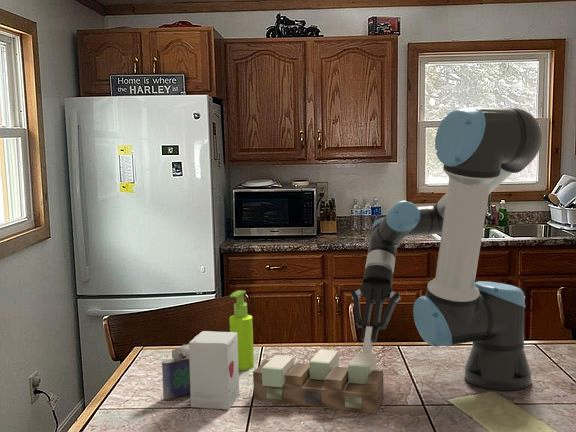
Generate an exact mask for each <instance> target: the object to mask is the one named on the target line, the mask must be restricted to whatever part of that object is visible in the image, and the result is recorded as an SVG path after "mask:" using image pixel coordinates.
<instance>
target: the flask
mask: <svg viewBox="0 0 576 432" xmlns="http://www.w3.org/2000/svg"><path fill="white" fill-rule="evenodd" d="M178 351H179V352H178V355H177V358H170V359H169V358H168V359H166V360H165V359H164V360H163V361H162V362H161V371H162V374H161V375H162V398H163V400H164V401H165V402H167V401H174V400H176V399H181V398H182V399H183V398H185V397H189V396H190V397H191V392H190V362H189V354H187V355H185V354H183V353H182V351H183V350H178ZM176 352H177V351H176Z"/></svg>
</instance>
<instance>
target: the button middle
mask: <svg viewBox="0 0 576 432" xmlns="http://www.w3.org/2000/svg"><path fill="white" fill-rule="evenodd" d="M339 355H340V353H339V350H334V349H333V350H331V349H321V348H320V349H319V350H318V351H317V352H316V354H314V356H313V357H312V358H311V359H310V361H308V362H309V363H308V364H309V370H310V379H316V380H324V379H325V378H326V376H327V375H328V374H329V372H330V371H331V370H332V368H333V367H340V364H339V363H340V362H339Z"/></svg>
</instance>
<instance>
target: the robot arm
mask: <svg viewBox="0 0 576 432" xmlns="http://www.w3.org/2000/svg"><path fill="white" fill-rule="evenodd" d="M542 133H543V132H542V129H541V125H540V124H539V122H538V120H537V118H535V116H533V114H531V113H529V112H527V111H526V110H524V109H522V108H518V107H467V108H459V109H454V110H452V111H450V112H449V113H447V115H446V116H445V117H443V119H442V120H441V122H440V123H439V125H438V127H437V130H436V134H435V139H434V149H435V150H436V157H437V158H438V161H439V162H440V163H441V164H443V168H442V170H443V171H444V172H445V173H444V174H446V175H447V176H448V178H449V179H448V185H447V191H446V193H445V194H444V195H443V196H442V197H441V198H440V199H439V200H438V201H437V202H436V203H435V204H434V205H425V206H417V205H416V204H415V203H413V202H410V201H407V200H400V201H398V202H395V204H394V205H393V206H392V207H391V208H390V209H389V210H388V211H387V213H386V214H385V216H384V217H380V218H378V219H376V220H375V221H374V222H373V224H372V227H371V230H370V235H369V236H370V238H369V244H368V250H367V256H366V260H365V261H366V262H365V265H364V266H365V268H364V274H363V277H362V278H363V279H362V284H361V285H360V287H359V289H357V290H354V289H353V290H351V291H350V295H351V298H352V300H353V309H354V319H355V324H356V327H357V328H358V329H361V333H360V340H361V342H363V344H362V353H370V354H372V347H373V343H377V342H378V336H379V331H380V330H386V329H387V327H388V325H389V323H390V320H391V319H392V318H391V317H392V315H393V313H394V311H395V308H396V306H397V305H398V303H399V302H401V296H400V293H399V292H395V291H394V290H393V280H394V279H393V278H394V271H395V266H396V265H395V264H396V258H397V256H396V255H397V250H398V247H399V245H400V244H401V243H403V241H404V240H405V239H406V238H407V237H415V236H417V237H418V236H428V235H439V234H441V236H440V240H439V241H440V242H439V250H438V254H437V255H438V256H437V263H436V271H435V277H434V278H433V279H432V280H430V281H428V283H427V286H426V291H425V292H426V293H425V295H421V296H420V297H418V298H417V299H415V301H414V303H413V308H412V309H413V310H412V313H413V319H414V323H415V327H416V329H417V332H418V333H419V335H420V337H421V338H422V340H423V341H425V343H427V344H428V345H429V346H432V347H433V348H434V347H436V348H438V347H446V348H447V347H451V346H454V345H461V344H466V343H467V344H469V343H472V347H471V349H470V352H469V355H468V358H467V361H466V363H465V366H464V378H465V380H466V381H467V382H468V383H471V384H472V385H475V386H477V387H479V388H483V389H488V390H495V391H517V390H522V389H526V388H527V387H530V385H531V384H532V371H531V367H530V365H529V361H528V357H527V355H526V353H525V318H526V317H525V316H526V315H525V314H526V306H527V305H526V303H525V301H526V300H525V293H524V290H522V288H520V287H518V286H515V285H512V284H507V283H503V282H502V283H501V282H495V281H485V280H484V281H483V280H482V281H481V280H479V281H476V276H477V270H478V264H479V257H480V251H481V247H482V246H481V245H482V239H483V234H484V233H483V232H484V226H485V220H486V215H487V214H486V213H487V207H488V201H489V195H490V194H491V193H492V192H493V191H494V190H496V188H498V187H499V186H500V185H501V184H502V183H503V182H504V181H505V180H506V179H507V178H508V177H510V176H511V175H512V174H518V173H520V172H522V171H523V170H525V168H527V167H528V166H529V165H530V164H531V163H532V161H534V159H535V158H536V157H537V155H538V153H539V151H540V149H541V147H542V141H543V134H542ZM361 295H362V297H363V298H364V300H365V305H364V309H363V310H364V311H363V316H362V312H361V303H360V299H361V298H362V297H361ZM388 299H389V301H388V303H387V305H386V307H385V310H384V313H383V315H382V310H383V309H382V308H383V306H384V303H385V302H386V301H387V300H388ZM374 304H375V307H374V313H373V319H372V323H371V318H372V311H373V306H374ZM370 323H371V325H372V326H370Z"/></svg>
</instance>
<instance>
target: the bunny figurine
mask: <svg viewBox="0 0 576 432" xmlns="http://www.w3.org/2000/svg"><path fill="white" fill-rule="evenodd" d="M178 350H183V351H182V353H183V354H185V355H187V354H189V343H188V344H182V346H181V345H180V346H179V348H175V349H172V350H171V359H173V358H177V355H178V352H179V351H178ZM176 351H177V352H176Z"/></svg>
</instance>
